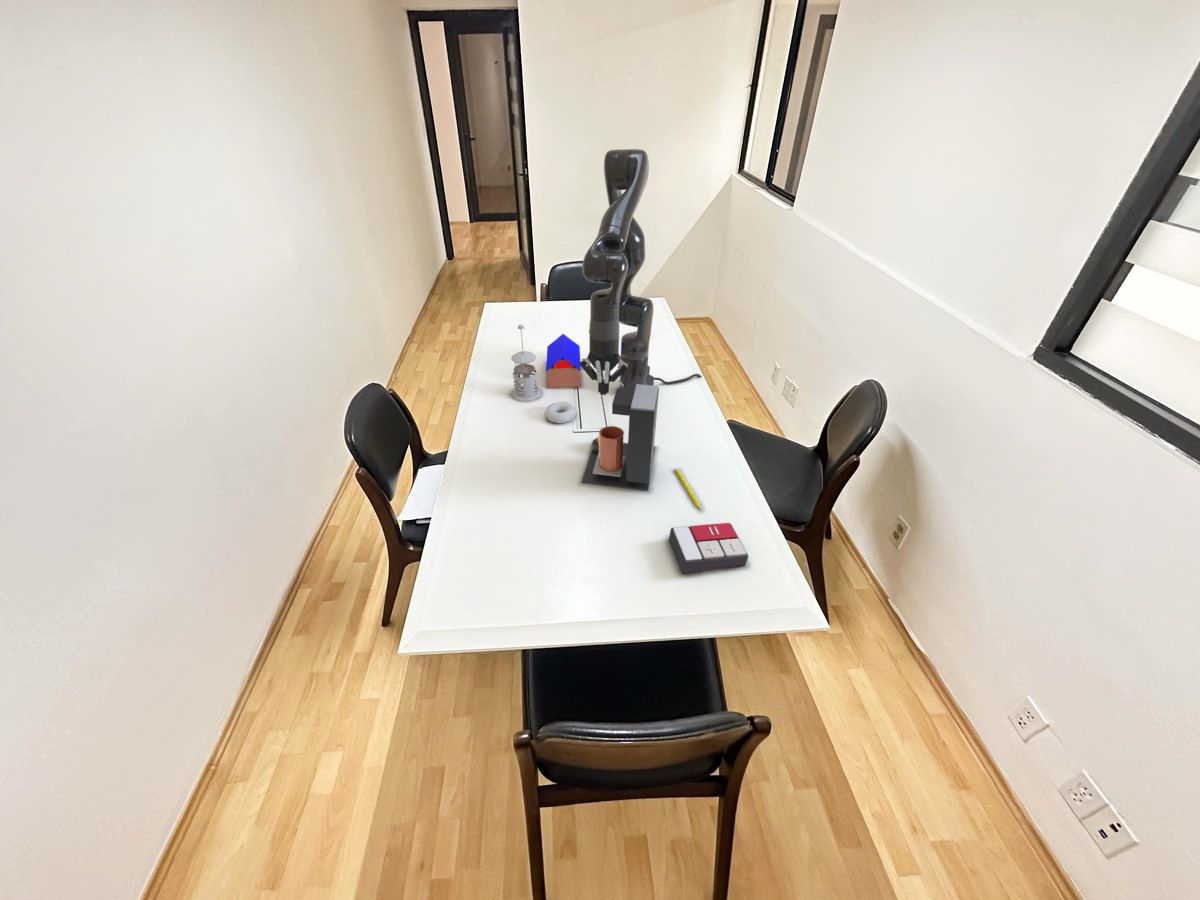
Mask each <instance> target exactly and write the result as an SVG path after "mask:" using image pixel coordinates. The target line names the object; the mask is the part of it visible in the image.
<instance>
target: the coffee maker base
mask: <svg viewBox="0 0 1200 900" xmlns="http://www.w3.org/2000/svg"><path fill="white" fill-rule="evenodd" d="M597 438H598V437H596V438H594V439H593V440H592V443H591V452H590V454H589V458H588V461H587V463H586V466H585V469H584V472H583V476H582V478H581V484H587V485H594V486H603V487H604V486H605V487H612V488H618V489H628V490H636V491H645V492H649V489H650V483H651V479H650V480H649V484H646V483H637V482H629V481H626V475H627V454H628V442H624V444H623V456H625V460H624V464H623V469H622V473H621V477H616V476H608V475H599V474H592V473H593V470H594V466H595V463H596V460H597V457H598V453H599V446H598V445H597ZM655 451H656V446H655V445H654V454H653V459H654V458H655ZM653 463H654V460H653V461H652V466H653ZM652 470H653V467H652V468H651V472H652ZM651 476H652V473H651V474H650V478H652V477H651Z"/></svg>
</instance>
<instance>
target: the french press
mask: <svg viewBox="0 0 1200 900" xmlns="http://www.w3.org/2000/svg"><path fill="white" fill-rule="evenodd" d="M517 329H518V330H520V337H521V340H523V331H522V330H523V329H525V326H524V324H518V325H517ZM521 349H522V350H521V351H518V352H516V353H514V354H512V355H511V356H510V360H511V361H512V362H514V368H513V372H512V376H513V387H514V390H513V392H512V395H511V396H512V398H513V399H514V400H516V401H520V402H532V401H535V400H537V399H538V398H540V397H541V395H542V393H541V390H539V389H538V374H537V373H538V372H537V370H536V366H535V365H533V364H531V363H533V362H534V361H536V358H537V356H536V355H535V354H534V353H533V352H531V351H526V350H524V341H521ZM521 375H522V377H521Z"/></svg>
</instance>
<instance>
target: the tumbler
mask: <svg viewBox="0 0 1200 900" xmlns="http://www.w3.org/2000/svg"><path fill="white" fill-rule="evenodd" d="M598 437H599V466H600V468H601V469H602V470H604V471H608V472H614V471H618V470H619V469H621V467H622V464H623V444H624V443H625V442H624V439H625V432H624V430H623V429H622V428H621V427H619V426H616V425H607V426H604V427H602V428H600V429H599V431H598Z"/></svg>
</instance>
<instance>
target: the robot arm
mask: <svg viewBox="0 0 1200 900" xmlns="http://www.w3.org/2000/svg"><path fill="white" fill-rule="evenodd" d="M649 173H650V163H649V156H648V153H647V152H646V151H645V150H643V149H639V148H631V149H630V148H628V149H627V148H625V149H623V148H621V149H618V148H617V149H610V150H608V151H606V153H605V155H604V158H603V175H604V176H603V177H604V184H605V188H606V196H607V202H608V208H607V209H606V211H604V214H603V216H602V218H601V221H600V225H599V229H598V232H597V236H596V237H595V239H594V241H593V242H592V244H591V246H589V248H588V250H587V251H586V253H585V254H584V257H583V259H582V264H581V271H582V275H583V277H584V278H585V280H587V281H588V282H590V283H601V284H611V286H610V287H609V288H605V289H599V290H596V291H594V292H592V294H591V295H590V301H589V302H590V303H589V304H590V317H589V326H588V327H589V329H588V335H589V341H588V342H589V353H588V354H587V356H586V357H584V358H582V359H580V366H581V369H583V371H584V372H585V374H586V375H587V376H588V377H589V379H591V381H597V392H598V393H599V394H600V395H601V396H606V395H607V394H608V393H609V390H610V383H614V382H616V381H617V380H618V384H619V386H618V388H623V389H634V390H635V387H636V384H640V385H651V386H655V385H654V384H655V381H659V382H661V383H663V385H664V384H665V385H673V384H678V383H682V382H686V381H689V380H691V379H693V378H694V377H697V378H702V375H701V374H699V373H694V374H691V375H690V376H688V377H685V378H682V379H678V380H672V381H666V380H664V378H661V377H655V376H653V375H651V373H650V371H651V367H650V365H649V354H650V353H649V352H650V341H651V335H652V326H653V317H654V302H653V300H652V299H650V298H647V297H642V296H638V295H637V296H636V295H632V291H631V290H632V289H631V288H632V283H633V281H634V279H635V277H636V276H637V275H638V273H639V272H640V270H641V269H642V267H643V265H644V264H645V260H646V238H645V233H644V231H643V229H642V227H641V225H640V224H639V223H638V221H637V220H636V218H635V217H634V215H635V212H636V209H637V208H638V206H639V203H640V201H641V198H642V196H643V194H644V191H645V188H646V186H647V183H648V179H649ZM622 191H624V192H622ZM620 324H621V325H625V326H629V327H633V328H637V330H636V331H631V332H626V333H625V334H623V335H622V336H621V338H620ZM620 339H621V340H620ZM616 366H617V369H616V370H615V371H614V372H613V373H612V374H611V371H613V370H614V369H615V367H616Z"/></svg>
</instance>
